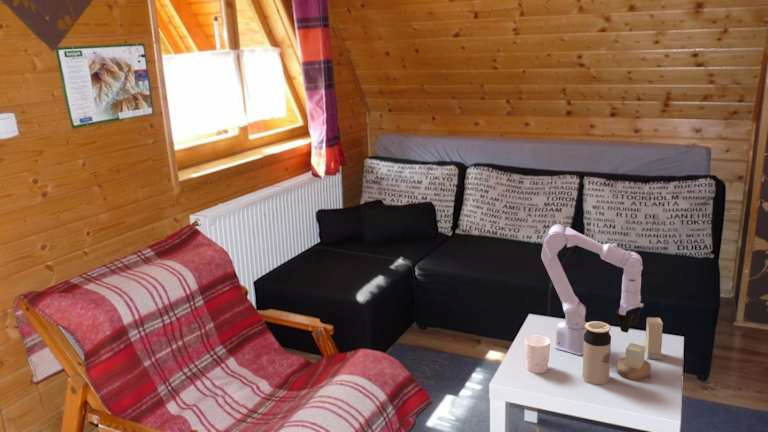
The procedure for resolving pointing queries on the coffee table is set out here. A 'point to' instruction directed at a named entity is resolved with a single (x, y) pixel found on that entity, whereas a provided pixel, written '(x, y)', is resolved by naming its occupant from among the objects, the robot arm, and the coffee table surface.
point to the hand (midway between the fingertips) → (628, 327)
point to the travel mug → (596, 352)
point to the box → (653, 338)
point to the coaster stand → (633, 371)
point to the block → (634, 355)
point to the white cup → (537, 353)
